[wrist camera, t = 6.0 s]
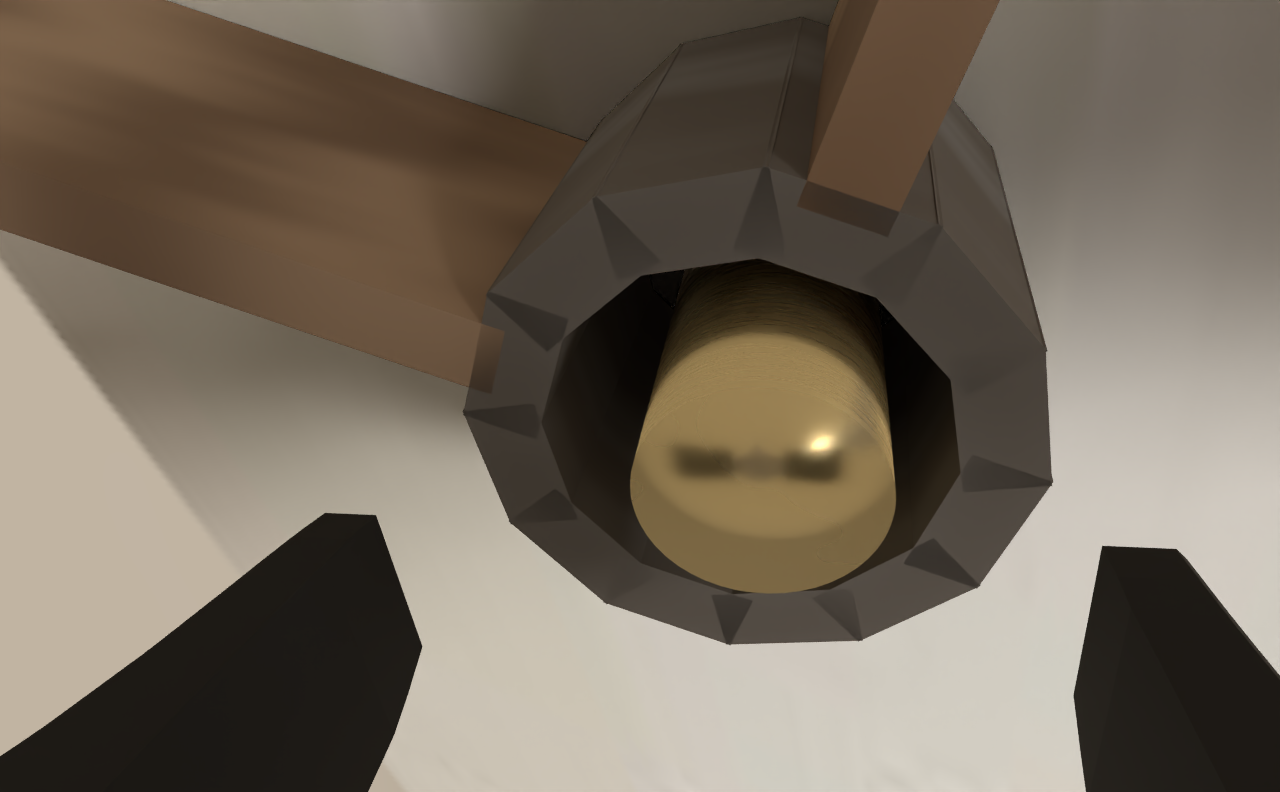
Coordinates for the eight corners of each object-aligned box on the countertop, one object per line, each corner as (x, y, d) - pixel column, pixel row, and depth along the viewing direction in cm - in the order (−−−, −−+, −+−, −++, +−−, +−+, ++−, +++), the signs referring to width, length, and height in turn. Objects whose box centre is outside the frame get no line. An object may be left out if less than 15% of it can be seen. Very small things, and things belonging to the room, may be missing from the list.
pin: (901, 185, 16) (942, 439, 10) (833, 333, 18) (836, 621, 12) (726, 128, 16) (670, 353, 10) (675, 284, 18) (604, 549, 12)
